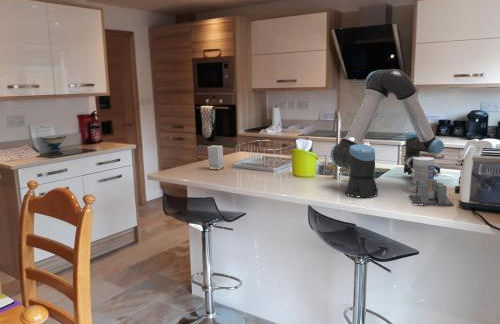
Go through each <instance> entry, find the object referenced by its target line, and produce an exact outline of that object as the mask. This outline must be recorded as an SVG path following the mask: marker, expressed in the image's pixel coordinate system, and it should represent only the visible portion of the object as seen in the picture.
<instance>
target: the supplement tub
mask: <svg viewBox="0 0 500 324" xmlns="http://www.w3.org/2000/svg"><path fill="white" fill-rule="evenodd" d="M434 166H435V158H434V157H430V156H420V157H415V158H413V169H414V170H415V177H413V176H412V175H411V176H412V179H411V181H412V182H411V187H412V188H413V189H416V179H431V180H435V179H434V177H435V176H434Z"/></svg>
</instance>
